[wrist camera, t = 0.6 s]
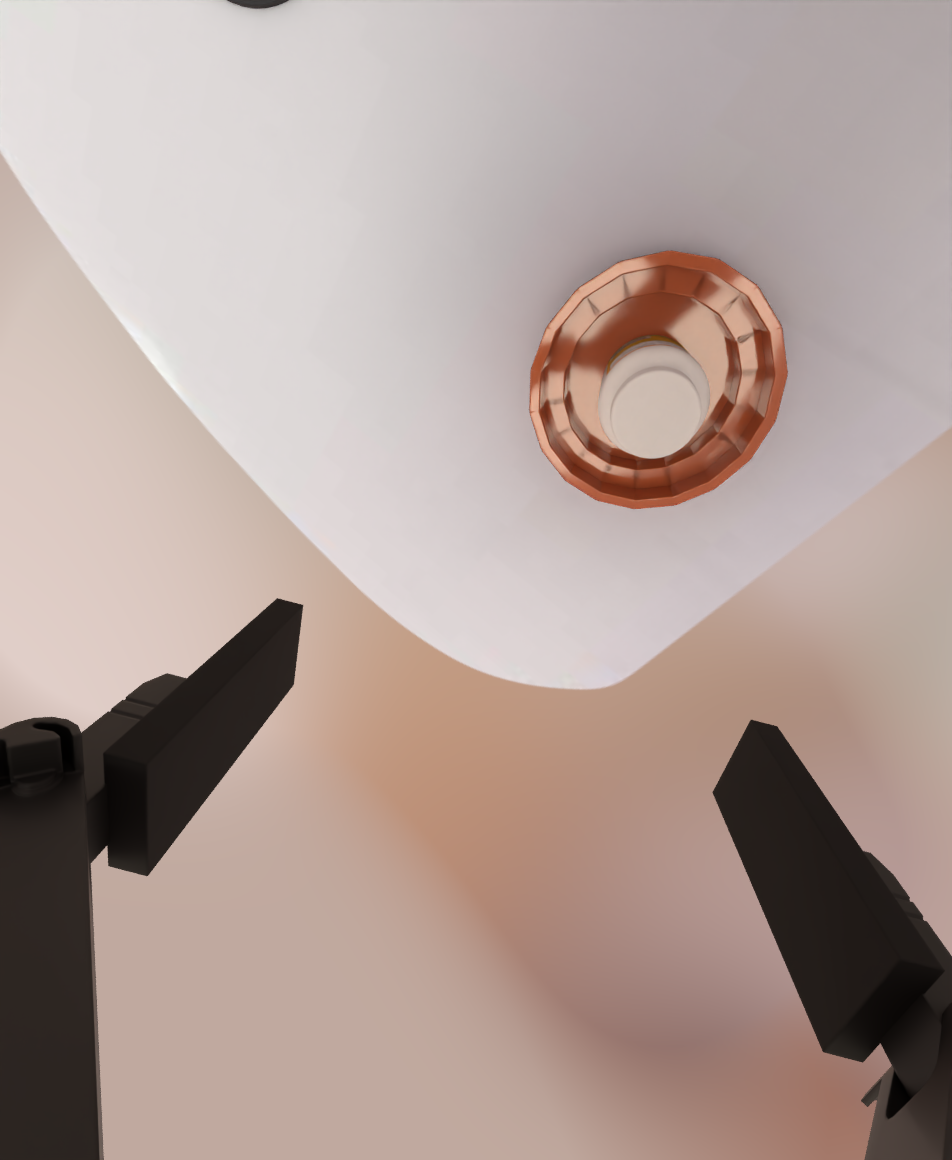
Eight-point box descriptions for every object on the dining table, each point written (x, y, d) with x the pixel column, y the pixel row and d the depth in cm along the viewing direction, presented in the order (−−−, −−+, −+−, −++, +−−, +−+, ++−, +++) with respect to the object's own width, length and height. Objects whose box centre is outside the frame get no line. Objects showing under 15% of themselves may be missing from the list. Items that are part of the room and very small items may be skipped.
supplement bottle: (668, 439, 34) (683, 490, 26) (588, 410, 34) (577, 451, 26) (711, 351, 31) (744, 377, 23) (623, 320, 31) (624, 335, 23)
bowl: (793, 250, 28) (820, 246, 24) (737, 491, 35) (751, 517, 31) (544, 257, 31) (533, 254, 27) (536, 479, 38) (526, 501, 34)
